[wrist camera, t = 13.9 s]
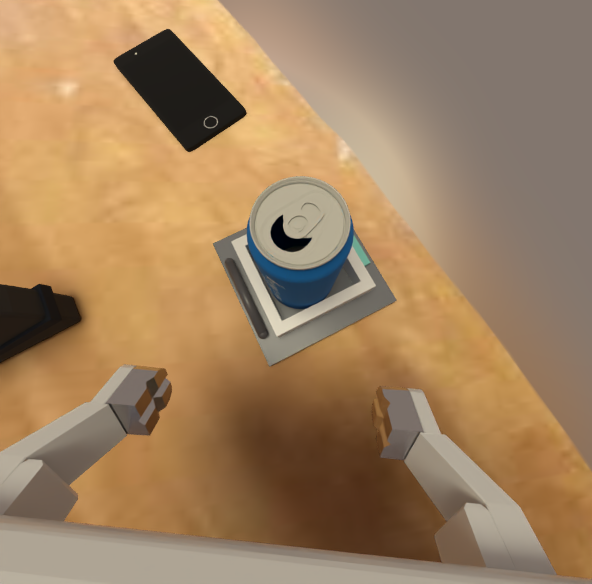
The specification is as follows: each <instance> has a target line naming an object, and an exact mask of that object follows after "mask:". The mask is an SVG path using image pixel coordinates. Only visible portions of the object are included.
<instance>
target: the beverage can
mask: <svg viewBox="0 0 592 584" xmlns="http://www.w3.org/2000/svg"><path fill="white" fill-rule="evenodd" d="M353 237H354V229H353V223H352V219H351V216H350V213H349V209H348V206H347V204H346V202H345V200H344V198H343V197H342V196H341V194H340V193H339V192H338V191H337V190H336V189H335V188H333V187H332V186H331V185H329V184H328V183H326V182H324V181H322V180H319V179H316V178H312V177H305V176H296V177H289V178H286V179H282V180H280V181H277V182H276V183H274V184H272V185H271V186H269V187H268V188H266V189H265V190H264V191H263V192H262V193H261V194H260V196H259V197H258V198H257V200H256V201H255V203H254V205H253V208H252V211H251V214H250V218H249V221H248V225H247V243H248V247H249V250H250V252H251V255H252V257H253V258H254V260H255V262H256V264H257V266H258V268H259V270H260V271H261V273H262V275H263V277H264V279H265V281H266V283H267V285H268V286H269V288H270V290H271V292H272V294H273V295H274V297H275V298H276V299H277V300H278V301H279V302H281V303H282V304H284V305H286V306H288V307H291V308H295V309H306V308H309V307H311V306H313V305H315V304H317V303H319V302H321V301H323V300H324V299H325V298H326V297H327V295H328V294H329V292H330V290H331V288H332V286H333V284H334V282H335V280H336V279H337V277H338V275H339V273H340V271H341V269H342V267H343V265H344V263H345V261H346V259H347V257H348V255H349V253H350V250H351V248H352V244H353Z"/></svg>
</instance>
